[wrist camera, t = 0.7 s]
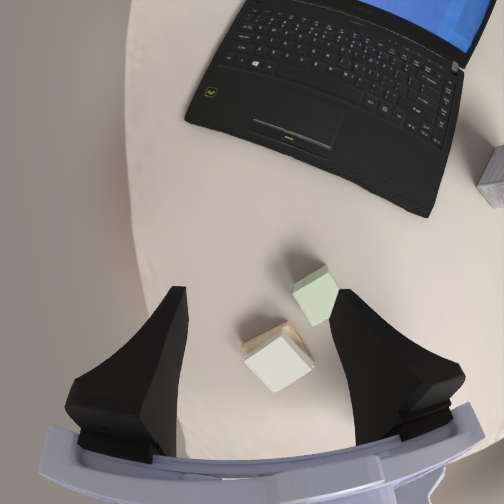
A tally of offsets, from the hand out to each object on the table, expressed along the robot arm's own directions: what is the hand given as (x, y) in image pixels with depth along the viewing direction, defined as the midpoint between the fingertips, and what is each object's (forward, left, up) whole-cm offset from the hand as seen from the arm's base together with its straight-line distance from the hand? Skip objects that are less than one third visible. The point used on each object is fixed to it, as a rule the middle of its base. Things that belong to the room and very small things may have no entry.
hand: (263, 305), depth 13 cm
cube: (-6, 0, -21) cm, 22 cm away
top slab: (-11, +9, -19) cm, 24 cm away
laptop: (+18, -22, -22) cm, 36 cm away
